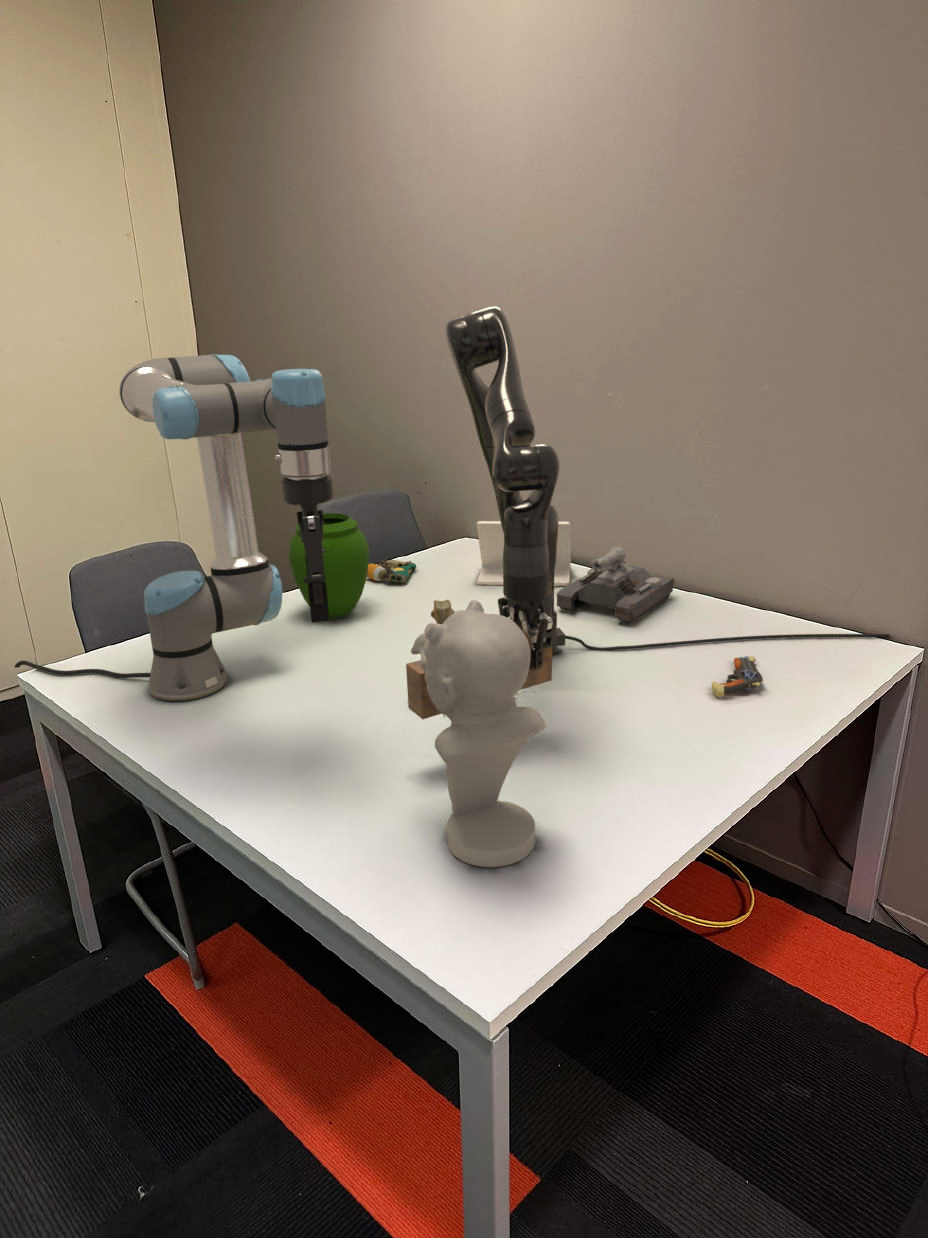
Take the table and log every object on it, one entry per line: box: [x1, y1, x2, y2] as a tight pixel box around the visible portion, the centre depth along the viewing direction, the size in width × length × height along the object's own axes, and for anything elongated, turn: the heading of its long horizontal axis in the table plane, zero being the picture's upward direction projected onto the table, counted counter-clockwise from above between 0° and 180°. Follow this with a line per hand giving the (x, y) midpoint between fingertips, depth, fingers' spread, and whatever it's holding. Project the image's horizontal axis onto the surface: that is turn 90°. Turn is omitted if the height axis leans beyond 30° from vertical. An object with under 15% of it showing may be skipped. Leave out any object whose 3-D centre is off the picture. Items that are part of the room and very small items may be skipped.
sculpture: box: [430, 599, 456, 624], centre depth 177 cm, size 6×7×15 cm
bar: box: [405, 635, 553, 720], centre depth 141 cm, size 25×5×8 cm, turn 122°
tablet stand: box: [476, 520, 572, 587], centre depth 236 cm, size 18×25×17 cm
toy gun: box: [711, 655, 765, 698], centre depth 171 cm, size 3×19×10 cm
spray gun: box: [367, 559, 417, 583], centre depth 241 cm, size 4×17×15 cm
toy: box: [556, 546, 676, 624], centre depth 212 cm, size 25×20×15 cm
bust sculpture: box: [410, 599, 547, 868], centre depth 121 cm, size 16×24×35 cm
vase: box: [288, 512, 370, 620], centre depth 209 cm, size 20×20×24 cm
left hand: (318, 606), depth 137 cm, fingers open, 13 cm apart
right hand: (526, 663), depth 146 cm, fingers closed on bar, 4 cm apart
